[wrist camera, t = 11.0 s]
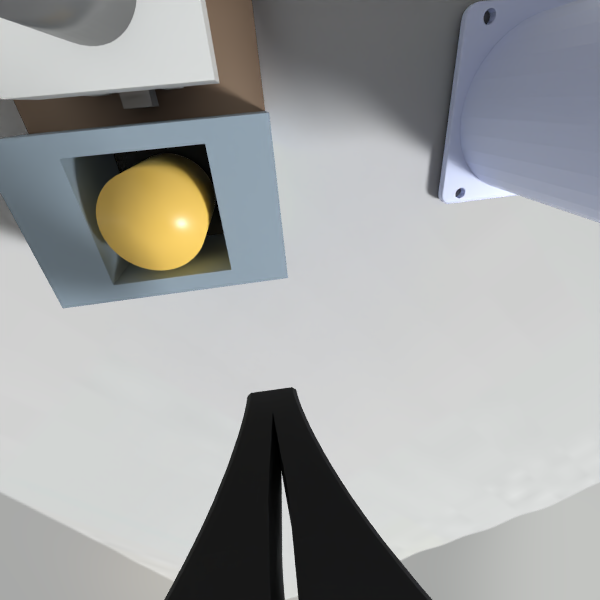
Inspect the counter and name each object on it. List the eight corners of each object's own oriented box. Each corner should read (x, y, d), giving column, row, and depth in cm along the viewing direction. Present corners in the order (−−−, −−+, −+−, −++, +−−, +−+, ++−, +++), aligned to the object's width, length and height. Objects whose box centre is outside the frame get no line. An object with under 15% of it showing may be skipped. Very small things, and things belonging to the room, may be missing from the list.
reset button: (205, 148, 14) (191, 163, 11) (222, 229, 16) (215, 263, 13) (119, 158, 14) (77, 175, 11) (146, 238, 16) (118, 276, 12)
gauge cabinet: (263, 110, 14) (269, 112, 11) (279, 239, 18) (287, 277, 14) (49, 131, 14) (-28, 141, 10) (104, 261, 17) (63, 308, 13)
